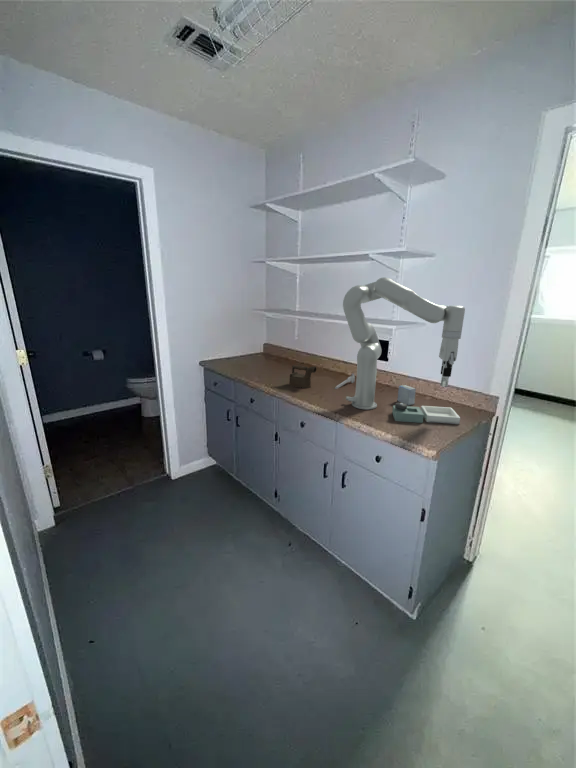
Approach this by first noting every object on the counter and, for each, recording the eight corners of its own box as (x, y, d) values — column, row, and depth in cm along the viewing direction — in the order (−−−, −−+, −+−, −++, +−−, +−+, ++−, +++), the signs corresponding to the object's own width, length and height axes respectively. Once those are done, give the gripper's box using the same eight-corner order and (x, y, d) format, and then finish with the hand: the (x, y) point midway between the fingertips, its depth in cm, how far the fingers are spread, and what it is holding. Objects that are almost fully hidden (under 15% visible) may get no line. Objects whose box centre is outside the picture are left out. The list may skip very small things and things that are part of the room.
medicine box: (414, 404, 173) (416, 388, 171) (408, 405, 171) (410, 389, 169) (403, 399, 180) (404, 384, 177) (396, 401, 178) (398, 385, 175)
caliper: (352, 382, 212) (353, 372, 211) (354, 382, 212) (355, 373, 210) (334, 389, 198) (334, 379, 196) (335, 389, 197) (336, 379, 196)
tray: (426, 422, 151) (427, 415, 150) (420, 411, 163) (421, 405, 162) (459, 424, 148) (460, 417, 147) (450, 413, 161) (451, 407, 160)
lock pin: (441, 386, 150) (444, 365, 147) (439, 384, 153) (442, 363, 150) (448, 387, 149) (451, 365, 147) (446, 385, 152) (449, 364, 149)
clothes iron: (310, 390, 195) (311, 368, 191) (288, 385, 203) (288, 364, 200) (317, 386, 201) (318, 365, 197) (295, 382, 210) (295, 361, 206)
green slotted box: (395, 420, 151) (396, 406, 149) (392, 413, 161) (393, 399, 159) (422, 422, 149) (424, 408, 147) (418, 414, 159) (419, 401, 157)
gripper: (437, 332, 153) (432, 370, 158) (447, 337, 137) (441, 379, 142) (454, 332, 152) (449, 371, 157) (467, 337, 136) (460, 380, 141)
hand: (445, 374), depth 150 cm, fingers closed on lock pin, 3 cm apart
